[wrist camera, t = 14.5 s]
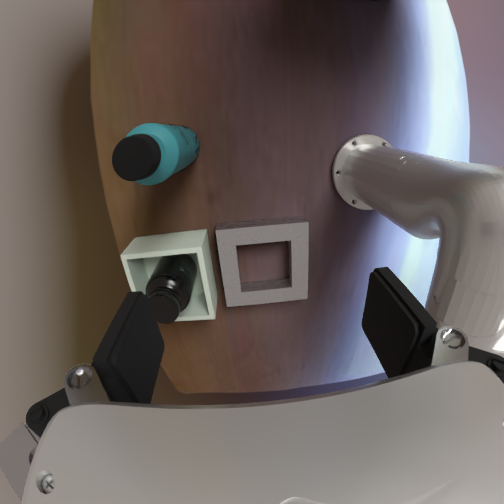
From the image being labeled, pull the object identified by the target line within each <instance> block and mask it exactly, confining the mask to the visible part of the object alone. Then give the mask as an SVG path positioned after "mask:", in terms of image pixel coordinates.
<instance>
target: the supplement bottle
mask: <svg viewBox="0 0 504 504" xmlns="http://www.w3.org/2000/svg"><path fill="white" fill-rule="evenodd" d="M196 275H197V266H196V263H195V261H194V260H193V259H192V258H191V257H190V256H189V255H188V254H178V255H167V256H162V257H161V259H160V260H159V262H158V264H157V266H156V267H155V269H154V271H153V273H152V275H151V277H150V279H149V280H148V282H147V285H146V289H145V293H146V295H147V296H148V299H149V302H150V305H151V308H152V311H153V313H154V316H155V319H156V322H159V323H163V324H168V323H172V322H173V321H175V320H176V319H177V318H178V316H179V313H180V312H182V311H183V310H185V309H186V308H187V306H188V305H189V302H190V299H191V295H192V291H193V287H194V283H195V280H196Z"/></svg>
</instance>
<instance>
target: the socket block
mask: <svg viewBox="0 0 504 504" xmlns="http://www.w3.org/2000/svg"><path fill="white" fill-rule="evenodd" d="M215 231H216V238H217V245H218V252H219V259H220V266H221V272H222V279H223V285H224V291H225V298H226V304H227V307H232V306H243V305H254V304H264V303H274V302H283V301H292V300H301V299H307V298H308V252H309V222H308V221H307V219H306V218H305V217H304V216H298V217H286V218H274V219H262V220H251V221H241V222H231V223H221V224H217V225H216V230H215ZM279 241H288V254H289V278H286V279H277V280H267V281H256V282H246V283H241V278H240V270H239V261H238V253H237V245H247V244H258V243H269V242H279Z"/></svg>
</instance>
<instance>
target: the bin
mask: <svg viewBox="0 0 504 504" xmlns="http://www.w3.org/2000/svg"><path fill="white" fill-rule="evenodd" d="M178 254H188V255H189V256H190V257H191V258H192V259H193V260H194V261H195V263H196V266H197V275H196V280H195V283H194V287H193V291H192V295H191V299H190V302H189V305H188V306H187V308H186V309H185V310H183V311H182V312H180V313H179V316H178V318H177V319H176V320H175V321H190V320H207V319H215V316H216V306H217V296H218V294H217V288H216V282H215V276H214V271H213V264H212V258H211V252H210V246H209V239H208V233H207V229H203V230H194V231H185V232H176V233H167V234H159V235H151V236H142V237H135V238H134V240H133V241H132V242H131V243H130V244H129V245H128V247H127V248H126V249H125V250H124V251H123V253H122V254H121V255H120V256H121V259H122V262H123V266H124V269H125V272H126V276H127V279H128V282H129V285H130V288H131V291H132V292H135V291H142V292H143V293H144V294H146V293H145V289H146V285H147V282H148V280H149V279H150V277H151V275H152V273H153V271H154V269H155V267H156V266H157V264H158V262H159V260H160V259H161V257H162V256H167V255H178Z"/></svg>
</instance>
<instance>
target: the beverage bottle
mask: <svg viewBox="0 0 504 504" xmlns="http://www.w3.org/2000/svg"><path fill="white" fill-rule="evenodd" d="M163 124H164V123H163ZM165 124H166V123H165ZM199 144H200V143H199V140H198V138H197V136H196V134H195V133H194V132H193V131H192V130H190V128H188V127H182V125H181V126H175V125H174V126H173V124H172V125H171V124H170V125H162V124H158V123H157V124H156V123H146V124H142V125H140V126H137V127H136V128H134V129H133V130H132V131H130V132H129V133H128V135H127V136H126V137H125V138H124V139H122V140H121V141H120V142H119V143H118V144H117V146H116V147H115V149H114V151H113V155H112V164H113V168H114V170H115V172H116V173H117V174H118V175H119V176H120V177H121V178H123V179H125V180H128V181H135V182H137V183H139V184H142V185H155V184H158V183H161V182H163V181H164V180H166V179H167V178H169V177H170V176H172V175H173V174H175V173H177V172H178V171H180V170H181V169H183V170H184V169H185V167H186V166H187V167H188V165H190V164H192V163H193V162H194V160H196V158H197V156H198V153H199ZM181 171H182V170H181ZM181 171H180V172H181Z"/></svg>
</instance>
